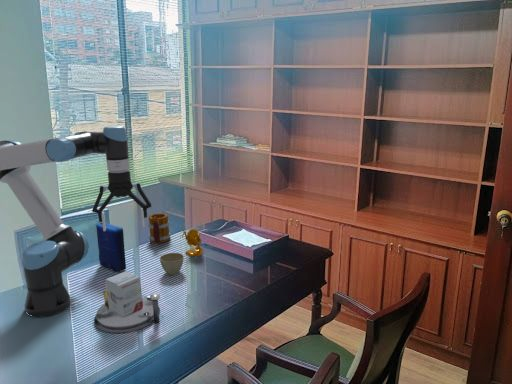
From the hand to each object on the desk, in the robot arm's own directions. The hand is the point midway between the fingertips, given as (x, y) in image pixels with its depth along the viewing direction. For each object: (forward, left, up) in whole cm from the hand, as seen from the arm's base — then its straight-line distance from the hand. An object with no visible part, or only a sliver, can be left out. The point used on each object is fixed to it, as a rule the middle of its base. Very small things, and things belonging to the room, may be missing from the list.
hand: (124, 228), depth 160 cm
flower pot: (+18, +16, -28) cm, 37 cm away
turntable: (-2, -14, -28) cm, 31 cm away
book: (-6, +30, -28) cm, 41 cm away
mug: (+17, +56, -28) cm, 65 cm away
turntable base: (-2, -14, -28) cm, 31 cm away
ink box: (-2, -14, -25) cm, 29 cm away
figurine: (+31, +34, -28) cm, 54 cm away
